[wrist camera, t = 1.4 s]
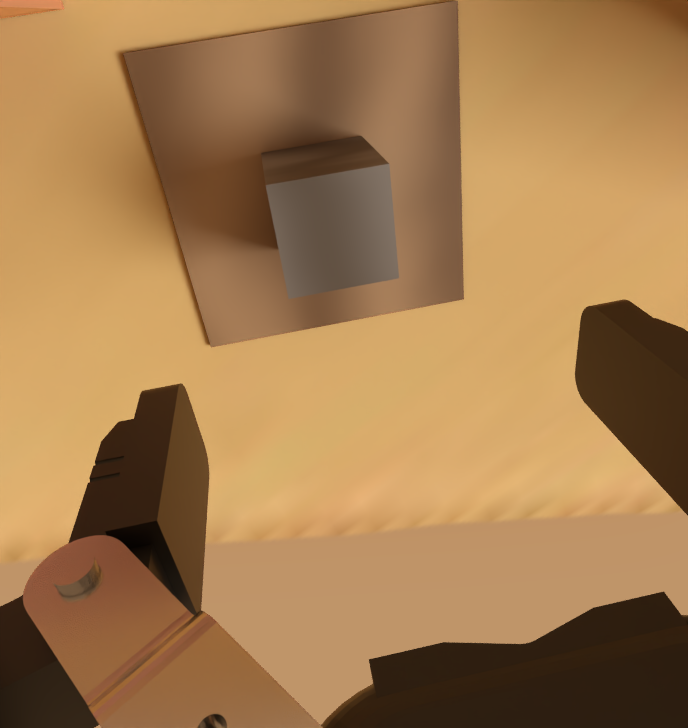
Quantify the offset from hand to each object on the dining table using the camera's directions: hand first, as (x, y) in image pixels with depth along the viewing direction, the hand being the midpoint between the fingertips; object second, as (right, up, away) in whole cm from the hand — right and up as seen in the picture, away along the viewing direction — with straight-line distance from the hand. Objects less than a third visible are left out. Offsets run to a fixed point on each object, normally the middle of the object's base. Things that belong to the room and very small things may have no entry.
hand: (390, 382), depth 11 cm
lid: (-2, +8, +13) cm, 15 cm away
